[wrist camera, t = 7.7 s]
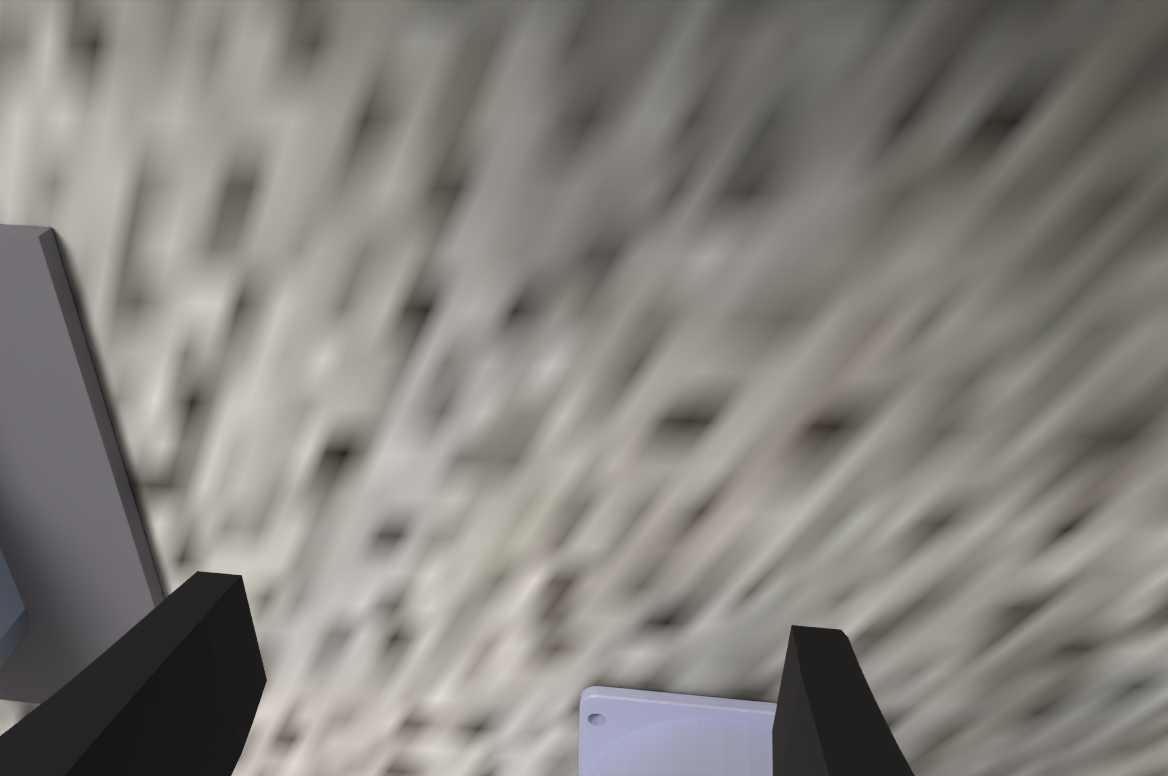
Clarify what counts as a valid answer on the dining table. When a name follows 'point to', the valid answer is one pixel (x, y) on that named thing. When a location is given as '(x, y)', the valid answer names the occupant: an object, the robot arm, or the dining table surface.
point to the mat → (60, 481)
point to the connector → (10, 613)
